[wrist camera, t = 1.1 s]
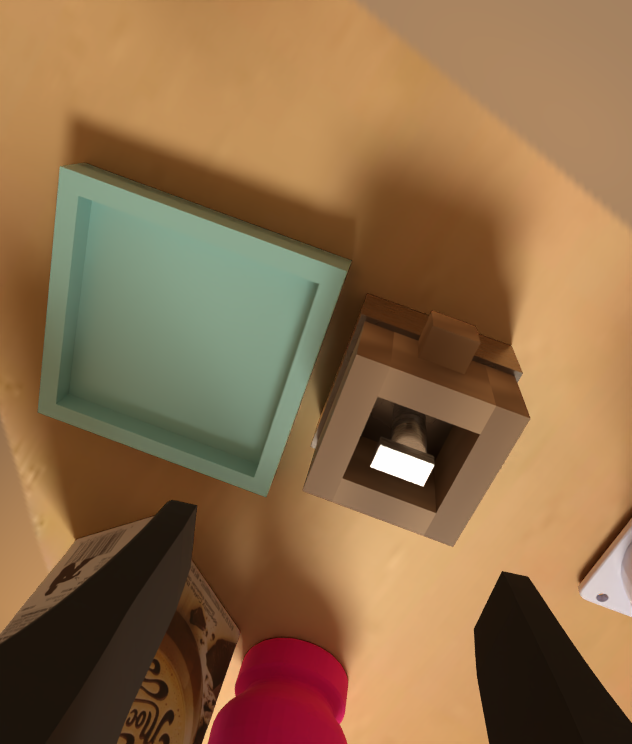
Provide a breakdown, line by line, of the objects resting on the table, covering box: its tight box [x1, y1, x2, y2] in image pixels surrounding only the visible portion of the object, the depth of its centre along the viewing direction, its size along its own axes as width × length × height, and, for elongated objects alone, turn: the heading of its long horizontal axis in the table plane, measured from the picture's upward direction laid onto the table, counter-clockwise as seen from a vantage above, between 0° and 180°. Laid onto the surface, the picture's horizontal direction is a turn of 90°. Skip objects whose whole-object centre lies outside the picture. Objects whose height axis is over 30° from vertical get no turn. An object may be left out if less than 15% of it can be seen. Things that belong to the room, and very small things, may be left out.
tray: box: [38, 163, 352, 497], centre depth 23 cm, size 11×11×2 cm
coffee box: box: [0, 516, 240, 744], centre depth 23 cm, size 9×6×16 cm
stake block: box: [311, 293, 523, 486], centre depth 20 cm, size 6×6×6 cm
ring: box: [303, 310, 530, 547], centre depth 19 cm, size 6×7×3 cm
